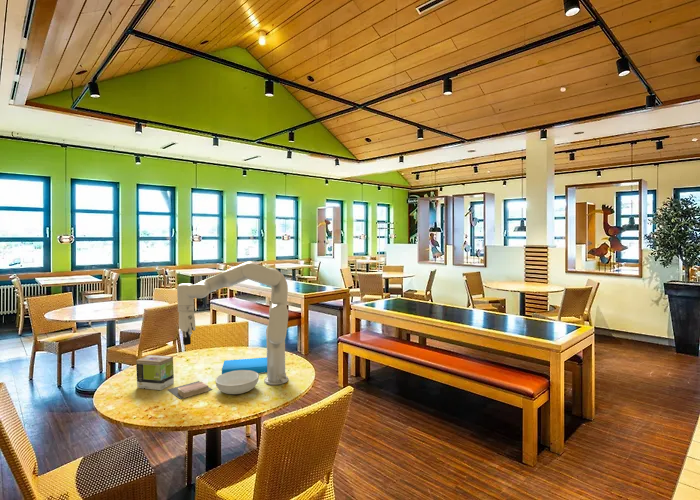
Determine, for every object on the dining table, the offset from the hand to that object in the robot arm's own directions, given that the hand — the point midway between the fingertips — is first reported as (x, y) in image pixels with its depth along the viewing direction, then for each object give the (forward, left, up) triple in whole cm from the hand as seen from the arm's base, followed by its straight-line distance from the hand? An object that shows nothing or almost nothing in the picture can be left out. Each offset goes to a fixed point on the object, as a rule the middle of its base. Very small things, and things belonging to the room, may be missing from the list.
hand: (187, 344), depth 204 cm
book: (+6, -36, -24) cm, 43 cm away
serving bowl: (-19, -17, -23) cm, 35 cm away
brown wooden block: (-2, 0, -21) cm, 21 cm away
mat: (-2, 0, -23) cm, 23 cm away
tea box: (+17, +10, -23) cm, 31 cm away
